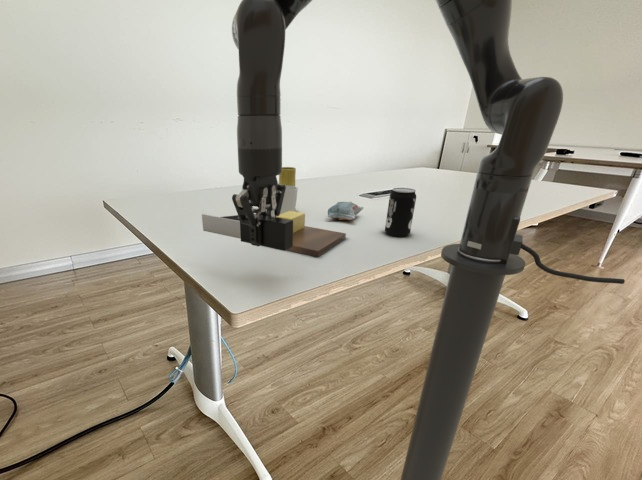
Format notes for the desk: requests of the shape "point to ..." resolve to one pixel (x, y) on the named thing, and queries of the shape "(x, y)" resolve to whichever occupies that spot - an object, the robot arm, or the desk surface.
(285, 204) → the cup
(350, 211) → the packaged food
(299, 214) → the butter
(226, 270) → the desk surface
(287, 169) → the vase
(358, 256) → the desk surface
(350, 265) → the desk surface
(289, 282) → the desk surface
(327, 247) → the board
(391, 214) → the beverage can
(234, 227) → the knife
